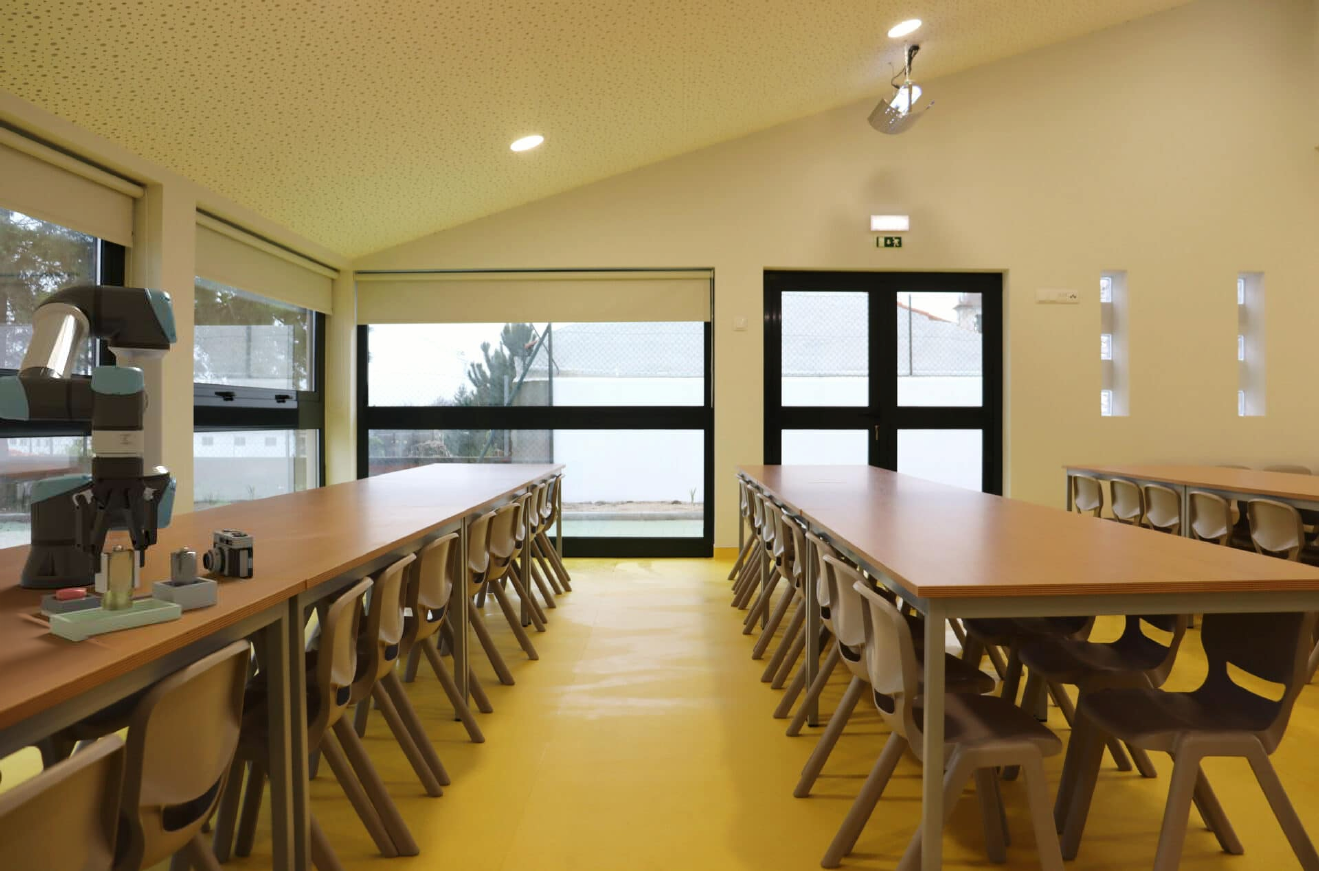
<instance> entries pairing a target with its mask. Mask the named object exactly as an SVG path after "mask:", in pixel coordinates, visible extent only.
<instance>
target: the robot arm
mask: <svg viewBox="0 0 1319 871" xmlns="http://www.w3.org/2000/svg"><path fill="white" fill-rule="evenodd" d="M31 319H32V320H31V325H32V328H33V333H32V336H31V339H30V342H29V343H28V346H27V349H26V352H25V354H24V357H23V360H22V362H21V365H20V368H19V370H18V372H17V375H11V376H9V375H7V376H1V377H0V418H1V419H6V420H19V421H91V422H92V423H91V424H92V425H91V449H90V450H91V451H90V452H91V453H92V454H93V455H95V456H93V457H92V458H91V472H88V473H79V474H69V475H62V476H54V477H49V478H48V477H47V478H43V479H40V480H39V479H38V480H36V482H34V483H33V485H32V486H31V489H30V501H29V505H30V549H29V553H28V555H27V558H26V560H25V563H24V565H23V568H22V570H21V573H20V577H19V580H20V581H19V583H20V584H19V585H20V587H23V588H26V589H58V588H59V589H60V588H61V589H62V588H71V587H72V588H74V587H79V586H85V585H91V584H94V586H95V587H94V591H95V592H97V593H101V594H102V593H107V554H103V553H102V552H103V551H104V546H105V543H106V539H107V534H108V533H109V532H128V534H129V538H130V542H131V545H132V549H133V589H139V588H140V575H141V574H140V572H141V571H140V569H141V568H144V567H145V564H146V557H145V556H146V550H147V551H148V549H149V547H150V546H155V545H156V544H157V543H158V530H161V529H162V530H163V529H165V528H167V527H169V526H170V524H171V521H172V516H173V515H172V514H173V511H174V510H173V509H174V504H175V498H176V491H177V484H178V479H177V478H175V477H171V470H170V469H169V468H168V467H167V466H165V464H163V358H164V357H165V356H166V355H168V353H170V352H171V344H172V345H173V344H176V343H178V334H177V333H178V332H177V325H176V318H175V312H174V307H173V301H172V298H171V295H170V294H169V293H168V292H166V291H165V290H160V289H152V288H147V287H144V288H143V287H129V286H117V285H116V286H114V285H101V284H92V283H88V284H87V283H85V284H78V285H71V286H68V287H65V288H63V289H61V290H59V291H56V292H54V293H52V294H51V295H49V296H48V297H46V298H45V299H44V300H42V302H40V304H39V305H37V306H36V309H35V310H34V313H33V315H32V318H31ZM85 339H96V340H107V349H108V350H109V351H111V352H112V353H113V354H114V356H115V357H116V358H115V360H116V361H115V363H116V364H115V365H99V366H95V367H93V370H92V376H91V377H92V378H72V377H71V376H72V373H73V372H72V371H73V368H74V365H75V361H76V358H77V353H78V350H79V346H80V344H81V342H84V341H85Z"/></svg>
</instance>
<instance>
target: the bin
mask: <svg viewBox="0 0 1319 871" xmlns="http://www.w3.org/2000/svg"><path fill="white" fill-rule="evenodd" d="M151 583H152V584H151V586H152V587H151V594H152V597H151V599H153V598H156V599H160V600H163V601H167V602H170V603H174V604H178V605H181V612H184V611H188V610H195V609H199V608H204V607H210V606H215V605H218V581H217V580H213V579H209V578H203V577H202V576H201V577H200V576H198V584H192V585H186V586H180V587H174V586H171V579H169V580H163V581H156V582H151Z"/></svg>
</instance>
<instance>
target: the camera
mask: <svg viewBox="0 0 1319 871" xmlns="http://www.w3.org/2000/svg"><path fill="white" fill-rule="evenodd" d="M212 543H213V544H212V545H213V547H212V548H210V549H208V550H207V552H205V553H204V554H203V556H202V566H203V568H204V569H205V570H208V572H210V573H215V574H218V575H219V576H220V575H221V576H223V577H225V578H230V577H232V578H238V579H242V580H247V579H252V578H253V577H254V536H253V535H250V534H248V533H246V532H242V531H240V530H235V529H228V528H226V529H224V528H223V529H222V530H215V531H213V542H212Z"/></svg>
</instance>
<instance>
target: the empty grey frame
mask: <svg viewBox="0 0 1319 871" xmlns="http://www.w3.org/2000/svg"><path fill="white" fill-rule="evenodd" d="M150 598H152V593H150V594H143V595H142V594H141V595H137V596H133V601H137V600H144V599H150Z"/></svg>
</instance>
